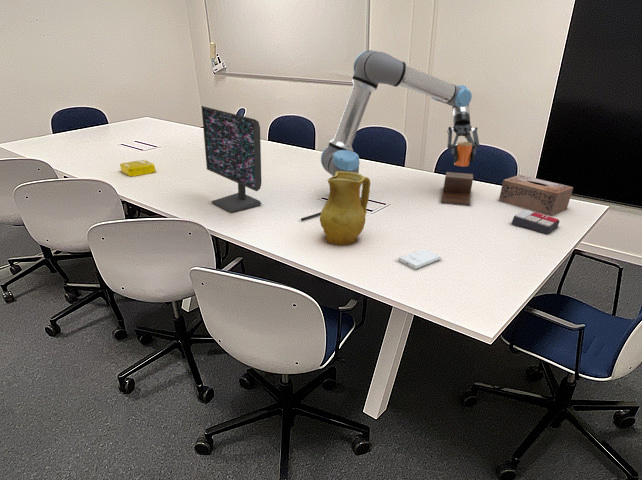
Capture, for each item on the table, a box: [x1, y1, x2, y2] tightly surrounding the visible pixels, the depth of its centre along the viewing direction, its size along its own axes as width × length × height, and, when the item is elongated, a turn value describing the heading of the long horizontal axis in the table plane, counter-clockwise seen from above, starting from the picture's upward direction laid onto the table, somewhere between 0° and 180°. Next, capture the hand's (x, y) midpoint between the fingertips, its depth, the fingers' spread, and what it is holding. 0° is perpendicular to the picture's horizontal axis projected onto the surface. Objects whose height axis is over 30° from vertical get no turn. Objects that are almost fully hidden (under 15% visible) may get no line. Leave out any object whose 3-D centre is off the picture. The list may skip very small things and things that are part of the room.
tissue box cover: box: [498, 174, 574, 217], centre depth 205 cm, size 26×14×10 cm, turn 39°
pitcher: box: [319, 171, 371, 246], centre depth 167 cm, size 17×19×25 cm
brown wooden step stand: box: [440, 171, 474, 207], centre depth 215 cm, size 24×13×8 cm, turn 164°
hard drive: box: [398, 248, 442, 270], centre depth 157 cm, size 2×8×12 cm
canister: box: [453, 141, 473, 168], centre depth 206 cm, size 7×7×10 cm
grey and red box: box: [511, 209, 561, 235], centre depth 184 cm, size 11×4×15 cm
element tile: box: [119, 159, 156, 177], centre depth 251 cm, size 15×15×5 cm
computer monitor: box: [201, 105, 262, 214], centre depth 196 cm, size 44×16×40 cm, turn 40°
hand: (464, 161), depth 204 cm, fingers closed on canister, 7 cm apart
